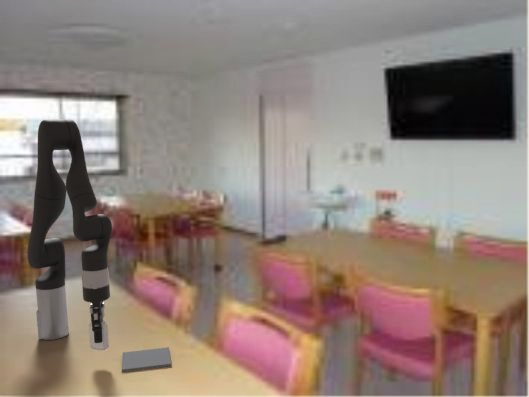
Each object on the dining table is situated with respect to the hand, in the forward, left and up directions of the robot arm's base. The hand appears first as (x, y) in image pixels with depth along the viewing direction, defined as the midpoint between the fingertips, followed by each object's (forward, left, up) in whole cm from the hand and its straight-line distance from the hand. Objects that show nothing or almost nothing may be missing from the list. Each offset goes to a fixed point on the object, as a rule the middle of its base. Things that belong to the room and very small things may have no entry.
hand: (99, 338), depth 157 cm
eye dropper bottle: (0, 0, -3) cm, 3 cm away
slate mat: (+13, -1, -8) cm, 15 cm away
